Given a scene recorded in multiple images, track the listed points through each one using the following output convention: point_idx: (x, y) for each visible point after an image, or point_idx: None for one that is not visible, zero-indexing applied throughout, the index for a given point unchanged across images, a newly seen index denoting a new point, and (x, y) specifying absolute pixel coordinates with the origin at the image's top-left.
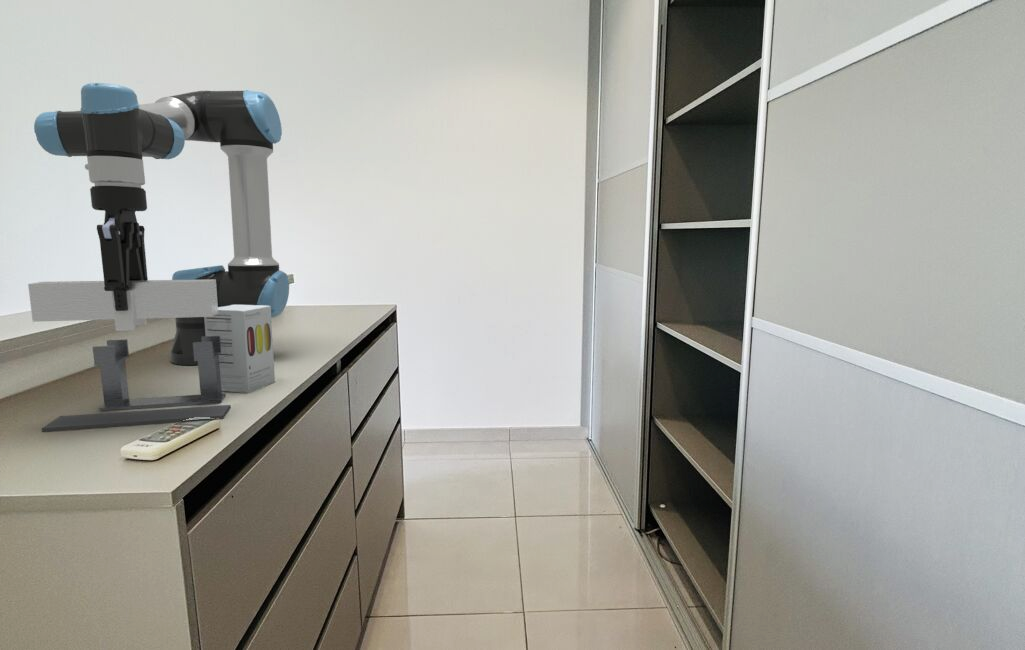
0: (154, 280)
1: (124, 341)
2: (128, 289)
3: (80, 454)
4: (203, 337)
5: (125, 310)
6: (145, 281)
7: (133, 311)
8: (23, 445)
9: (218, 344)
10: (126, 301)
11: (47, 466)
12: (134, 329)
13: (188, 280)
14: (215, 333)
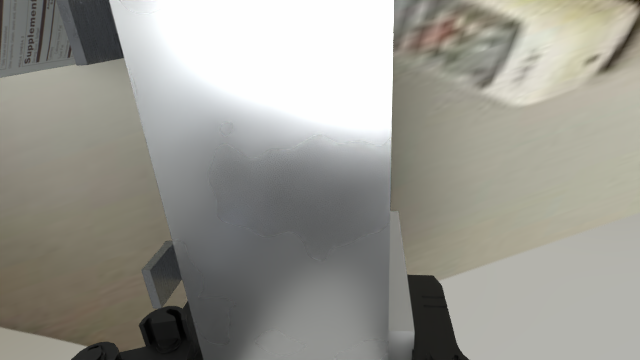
0: (211, 292)
1: (153, 271)
2: (434, 344)
3: (535, 163)
4: (86, 56)
5: (433, 277)
6: (302, 322)
7: (393, 253)
8: (447, 261)
9: (90, 1)
10: (419, 304)
11: (579, 189)
12: (395, 212)
13: (211, 21)
14: (11, 31)
